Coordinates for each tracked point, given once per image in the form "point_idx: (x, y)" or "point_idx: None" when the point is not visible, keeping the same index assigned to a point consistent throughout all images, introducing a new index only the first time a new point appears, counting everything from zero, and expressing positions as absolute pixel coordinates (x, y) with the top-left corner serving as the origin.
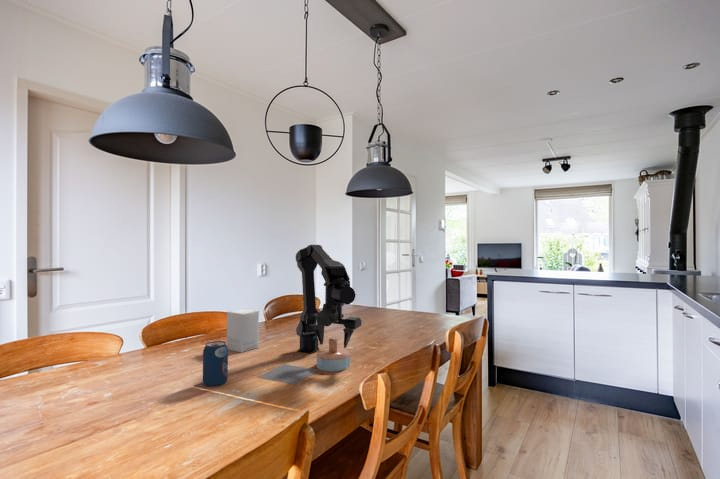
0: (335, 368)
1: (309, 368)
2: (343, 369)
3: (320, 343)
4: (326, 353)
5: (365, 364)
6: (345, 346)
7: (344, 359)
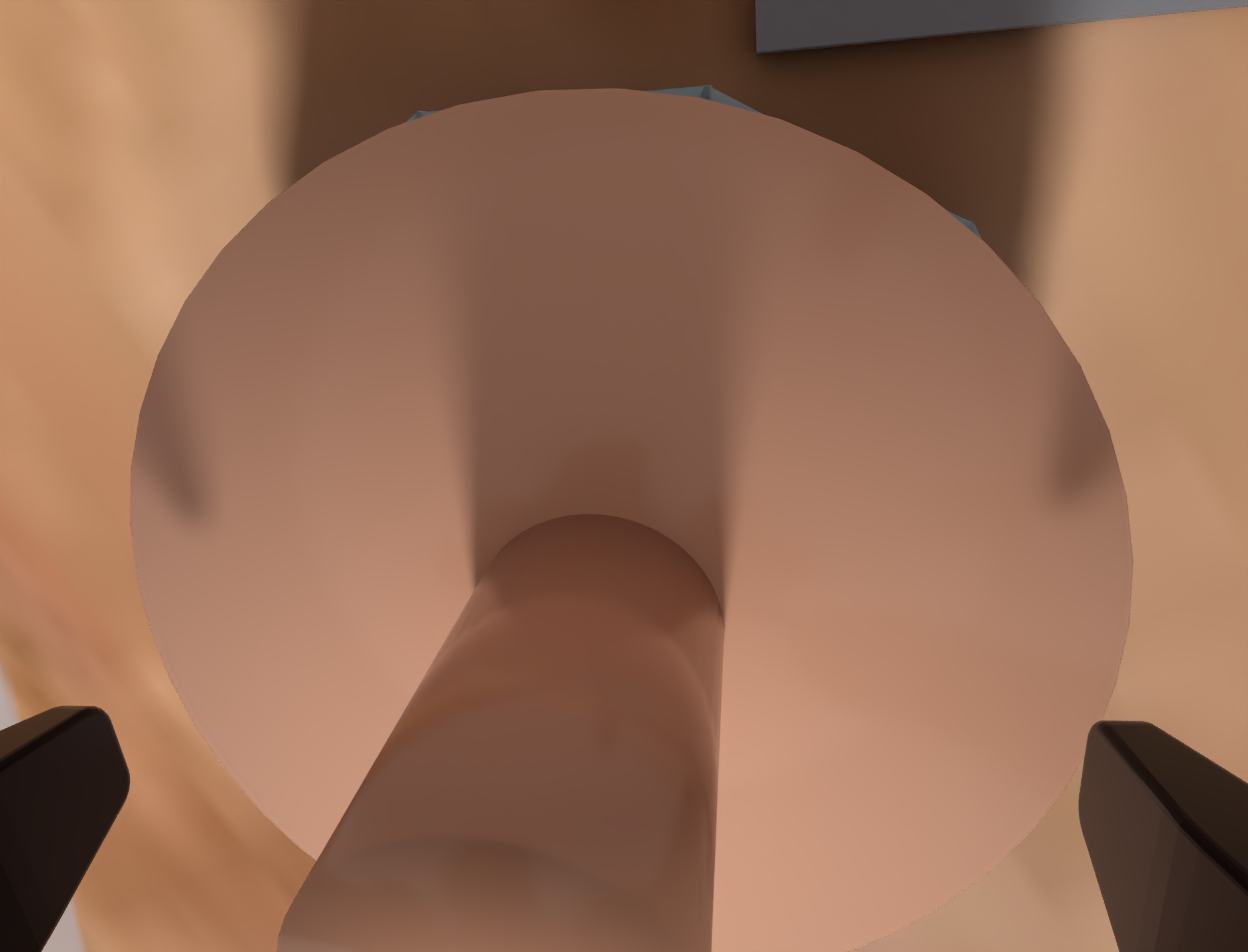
0: None
1: (1046, 9)
2: None
3: (1150, 738)
4: (685, 403)
5: (244, 793)
6: (3, 730)
7: None
